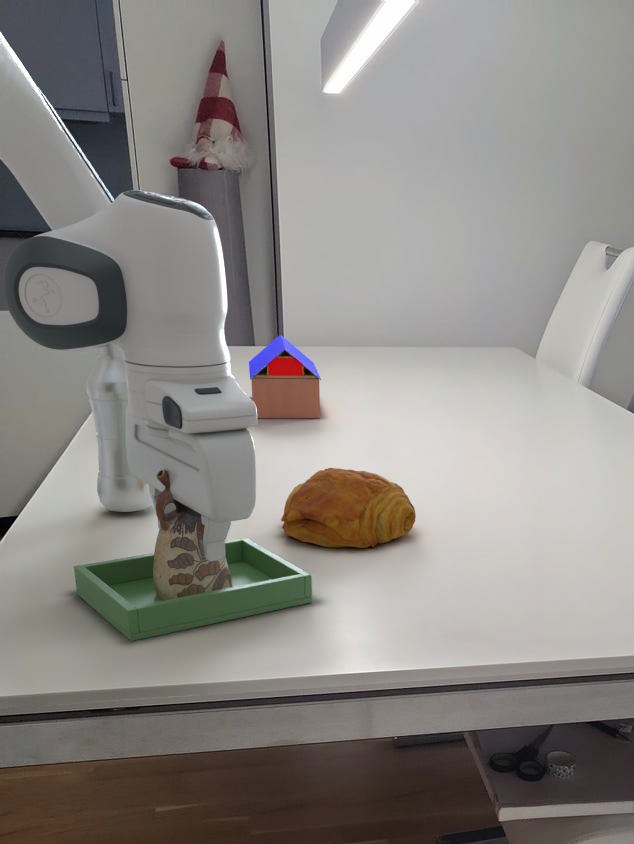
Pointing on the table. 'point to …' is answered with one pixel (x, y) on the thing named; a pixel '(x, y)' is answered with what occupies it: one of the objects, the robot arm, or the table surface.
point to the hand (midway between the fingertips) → (191, 544)
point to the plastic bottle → (114, 433)
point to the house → (284, 382)
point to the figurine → (183, 552)
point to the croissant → (347, 509)
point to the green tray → (150, 615)
